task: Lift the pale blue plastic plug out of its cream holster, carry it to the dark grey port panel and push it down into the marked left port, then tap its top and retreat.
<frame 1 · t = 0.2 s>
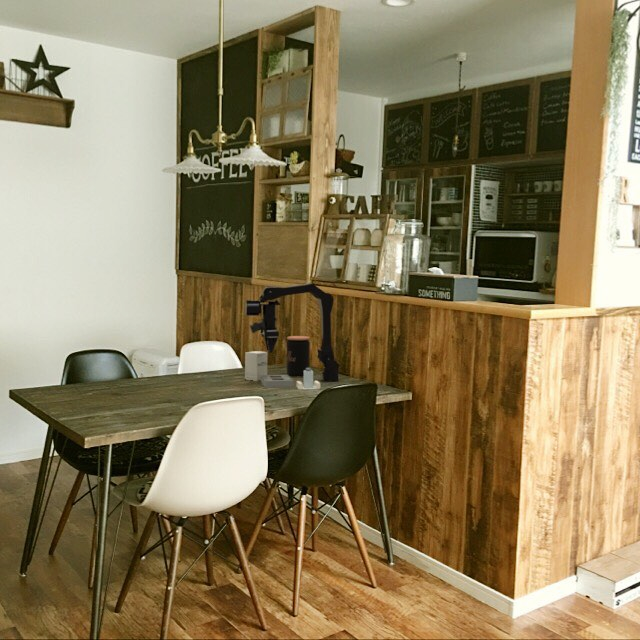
hand: (269, 351, 319), 14 cm above the table, tool pointing down, fingers open, 9 cm apart
supplement box: (256, 380, 331), on the table
holster: (308, 389, 308), on the table
port panel: (276, 385, 315), on the table
coffee jar: (298, 375, 346), on the table
plug: (308, 387, 307), point 1 cm above the table, touching holster
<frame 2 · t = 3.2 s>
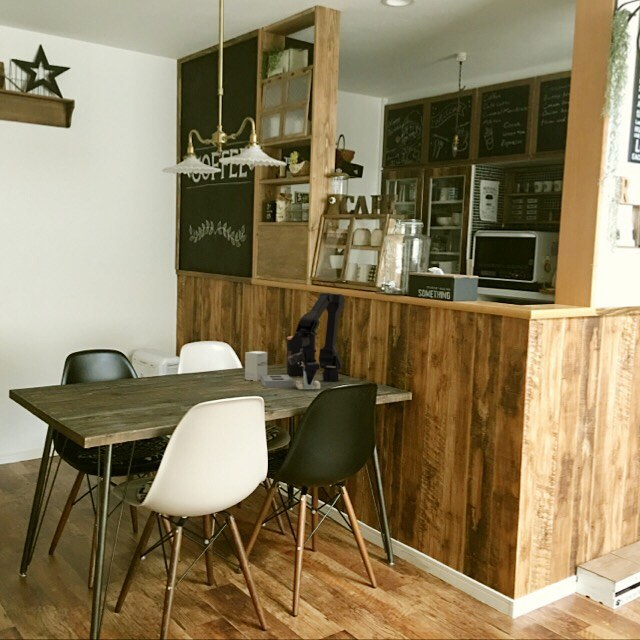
hand: (308, 383, 307), 2 cm above the table, tool pointing down, fingers closed on plug, 3 cm apart
plug: (308, 387, 307), point 1 cm above the table, touching gripper, holster
everything else where it was.
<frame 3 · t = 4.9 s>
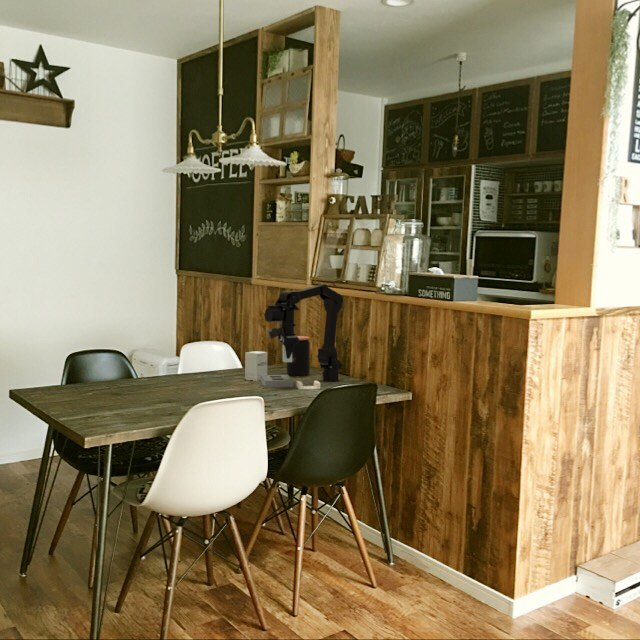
hand: (287, 358, 309), 13 cm above the table, tool pointing down, fingers closed on plug, 3 cm apart
plug: (287, 361, 309), point 11 cm above the table, touching gripper
everything else where it was.
when the fingers open (4 cm above the table, at t = 6.7 s): plug drops 2 cm, resting on port panel.
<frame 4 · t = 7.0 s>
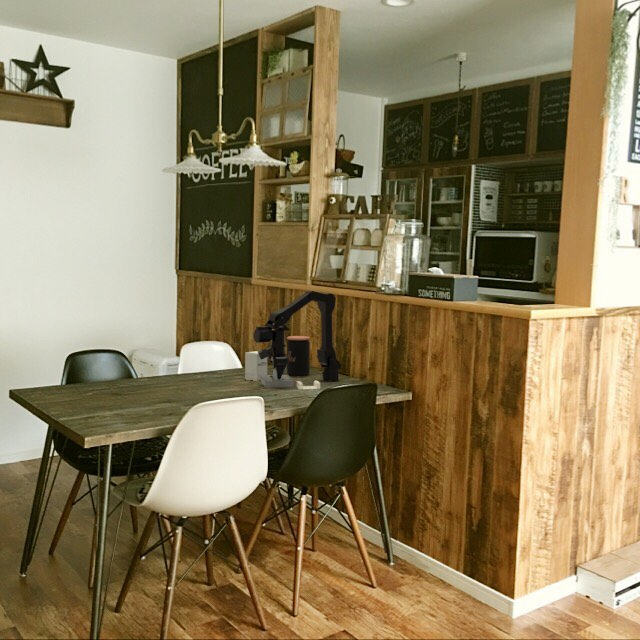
hand: (277, 378, 311), 4 cm above the table, tool pointing down, fingers open, 7 cm apart
plug: (277, 385, 312), point 1 cm above the table, touching port panel
everything else where it was.
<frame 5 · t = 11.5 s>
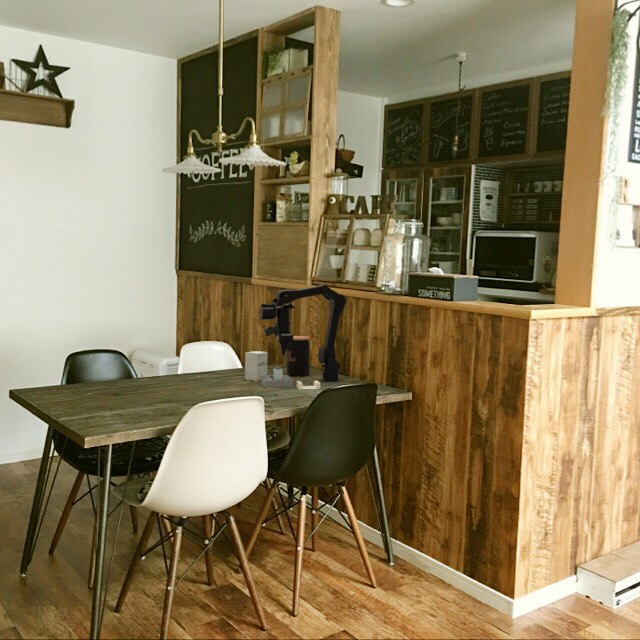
hand: (283, 355, 316), 13 cm above the table, tool pointing down, fingers closed
nothing on the table moved.
at the end: plug 0.0 cm from the target spot on the port panel, point 0.8 cm above the port panel's base; plug tilted 0°; the gripper is holding nothing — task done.
